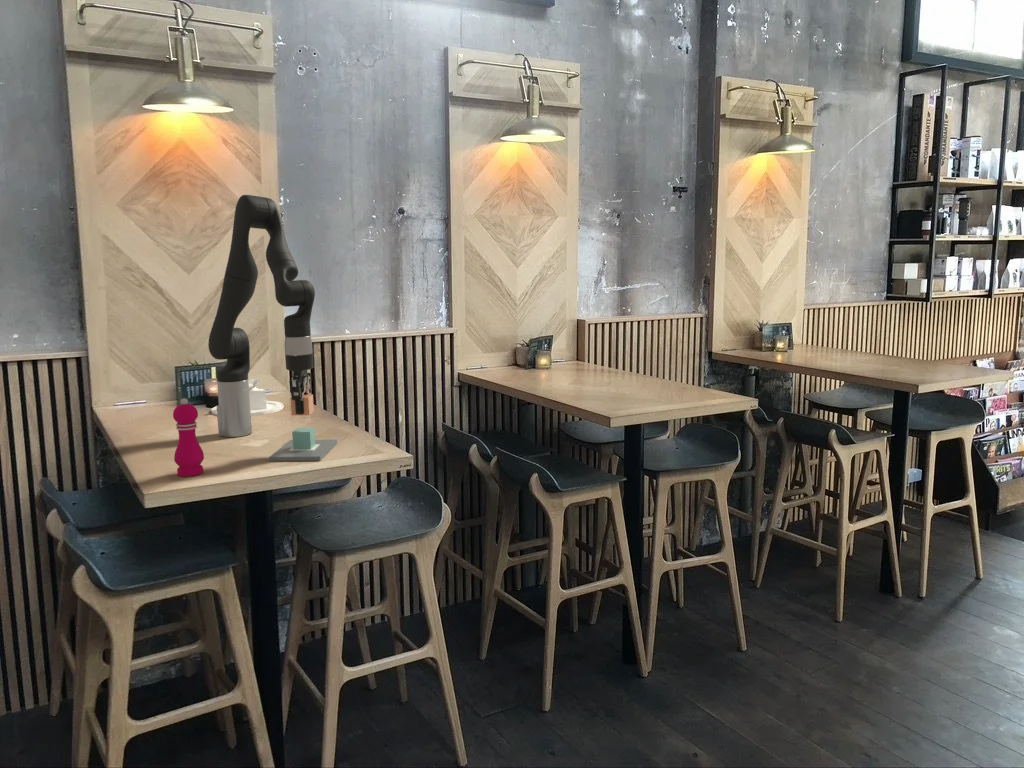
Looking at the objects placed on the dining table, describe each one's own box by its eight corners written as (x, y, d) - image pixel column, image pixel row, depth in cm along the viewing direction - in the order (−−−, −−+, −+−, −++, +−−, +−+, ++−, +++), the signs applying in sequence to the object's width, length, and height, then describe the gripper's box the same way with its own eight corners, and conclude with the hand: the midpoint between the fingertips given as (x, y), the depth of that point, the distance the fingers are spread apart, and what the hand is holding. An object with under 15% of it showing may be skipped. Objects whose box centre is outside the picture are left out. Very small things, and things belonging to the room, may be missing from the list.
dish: (263, 401, 323) (261, 372, 321) (295, 410, 305) (293, 379, 303) (200, 410, 307) (197, 380, 305) (230, 420, 289) (227, 388, 287)
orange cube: (291, 415, 237) (290, 397, 237) (296, 411, 242) (295, 394, 241) (309, 415, 237) (308, 397, 236) (313, 411, 242) (312, 394, 241)
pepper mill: (180, 470, 224) (174, 396, 220) (208, 469, 224) (202, 395, 221) (171, 478, 217) (165, 401, 213) (200, 477, 217) (194, 400, 214)
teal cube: (293, 449, 239) (292, 432, 238) (298, 445, 244) (297, 428, 243) (310, 449, 239) (309, 431, 238) (315, 445, 244) (314, 428, 243)
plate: (269, 461, 232) (269, 456, 232) (290, 444, 252) (290, 439, 251) (320, 460, 231) (320, 455, 231) (337, 443, 251) (336, 438, 251)
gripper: (292, 349, 244) (296, 407, 247) (277, 356, 230) (282, 417, 233) (318, 348, 244) (322, 407, 247) (305, 355, 230) (309, 417, 232)
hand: (302, 411), depth 240 cm, fingers closed on orange cube, 5 cm apart
